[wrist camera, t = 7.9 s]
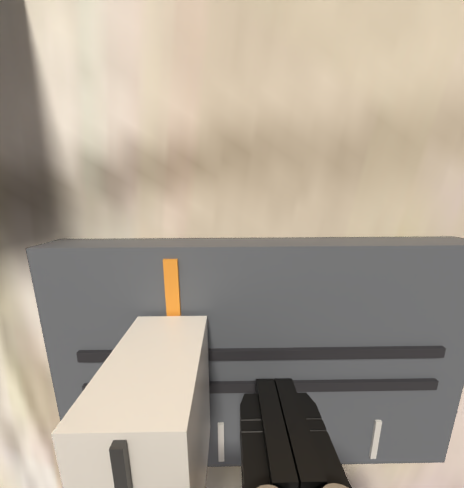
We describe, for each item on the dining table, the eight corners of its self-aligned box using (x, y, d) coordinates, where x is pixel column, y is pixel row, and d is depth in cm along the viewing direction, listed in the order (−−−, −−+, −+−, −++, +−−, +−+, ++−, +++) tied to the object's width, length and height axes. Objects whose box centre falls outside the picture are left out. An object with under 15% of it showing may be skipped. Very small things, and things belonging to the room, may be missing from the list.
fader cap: (207, 315, 10) (184, 440, 5) (210, 426, 11) (195, 616, 6) (137, 316, 10) (44, 443, 5) (149, 427, 11) (84, 619, 6)
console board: (454, 236, 12) (503, 246, 10) (414, 425, 14) (447, 466, 12) (59, 239, 12) (21, 249, 9) (92, 431, 14) (67, 473, 12)
